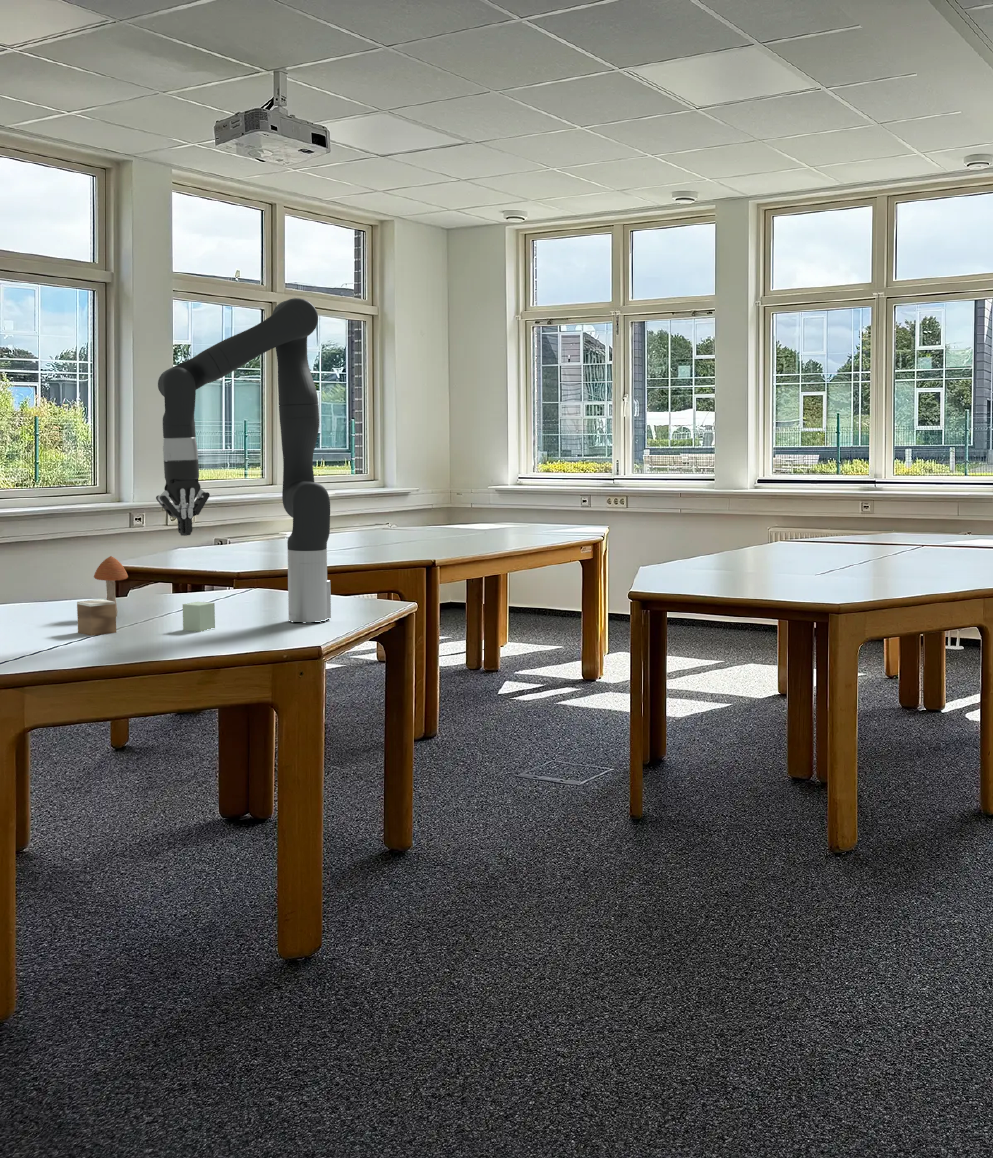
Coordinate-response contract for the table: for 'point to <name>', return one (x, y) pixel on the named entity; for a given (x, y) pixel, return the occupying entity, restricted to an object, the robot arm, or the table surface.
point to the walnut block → (96, 617)
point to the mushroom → (110, 576)
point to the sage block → (198, 616)
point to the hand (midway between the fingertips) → (185, 535)
